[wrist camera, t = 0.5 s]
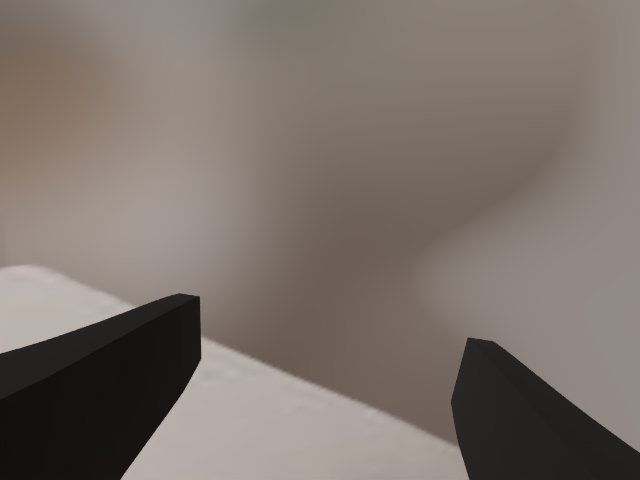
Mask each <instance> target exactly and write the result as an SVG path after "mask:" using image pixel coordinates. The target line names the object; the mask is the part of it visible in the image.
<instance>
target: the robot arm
mask: <svg viewBox="0 0 640 480" xmlns="http://www.w3.org/2000/svg"><path fill="white" fill-rule="evenodd" d="M200 360H201V328H200V297H199V296H193V295H186V294H180V293H179V294H175V295H171V296H168V297H165V298H162V299H159V300H156V301H153V302H151V303H148V304H145V305H143V306H140V307H138V308H135V309H132V310H130V311H127V312H124V313H122V314H119V315H116V316H114V317H111V318H108V319H106V320H103V321H100V322H98V323H95V324H92V325H89V326H86V327H83V328H80V329H78V330H75V331H72V332H69V333H66V334H63V335H60V336H57V337H54V338H52V339H48V340H45V341H42V342H39V343H36V344H32V345H29V346H26V347H23V348H19V349H16V350H12V351H8V352H5V353H1V354H0V480H120V479H121V478H122V476H123V475H124V473H125V472H126V471H127V469H128V468H129V466H130V465H131V464H132V462H133V461H134V460H135V458H136V457H137V455H138V454H139V453H140V451H141V450H142V449H143V447H144V446H145V444H146V443H147V442H148V440H149V439H150V438H151V436H152V435H153V433H154V432H155V431H156V429H157V428H158V427H159V425H160V424H161V422H162V421H163V420H164V418H165V417H166V416H167V414H168V413H169V411H170V410H171V408H172V407H173V406H174V404H175V403H176V401H177V400H178V399H179V397H180V396H181V394H182V393H183V391H184V390H185V388H186V386H187V384H188V383H189V381H190V379H191V377H192V375H193V373H194V372H195V370H196V368H197V366H198V364H199V362H200ZM451 405H452V412H453V418H454V424H455V429H456V434H457V439H458V443H459V447H460V450H461V454H462V457H463V460H464V463H465V467H466V470H467V473H468V477H469V480H640V453H639V452H638V451H636V450H635V449H633V448H632V447H631V446H629V445H628V444H626V443H625V442H624V441H622V440H621V439H620V438H618V437H617V436H616V435H614V434H613V433H611V432H610V431H609V430H607V429H606V428H605V427H603V426H602V425H600V424H599V423H598V422H596V421H595V420H593V419H592V418H591V417H590V416H588V415H587V414H586V413H584V412H583V411H582V410H581V409H579V408H578V407H577V406H575V405H574V404H572V403H571V402H570V401H569V400H568V399H566V398H565V397H564V396H562V395H561V394H560V393H559V392H557V391H556V390H555V389H554V388H552V387H551V386H550V385H549V384H547V383H546V382H545V381H544V380H542V379H541V378H540V377H539V376H537V375H536V374H535V373H534V372H532V371H531V370H530V369H529V368H527V367H526V366H525V365H524V364H523V363H521V362H520V361H519V360H518V359H516V358H515V357H514V356H512V355H511V354H510V353H509V352H507V351H506V350H505V349H503V348H502V347H501V346H499V345H498V344H496V343H495V342H493V341H488V340H482V339H475V338H468V339H467V343H466V347H465V350H464V354H463V358H462V361H461V365H460V369H459V373H458V377H457V380H456V384H455V388H454V392H453V395H452V399H451Z"/></svg>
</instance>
